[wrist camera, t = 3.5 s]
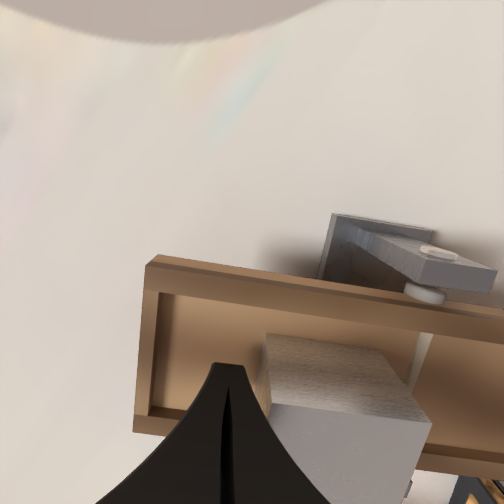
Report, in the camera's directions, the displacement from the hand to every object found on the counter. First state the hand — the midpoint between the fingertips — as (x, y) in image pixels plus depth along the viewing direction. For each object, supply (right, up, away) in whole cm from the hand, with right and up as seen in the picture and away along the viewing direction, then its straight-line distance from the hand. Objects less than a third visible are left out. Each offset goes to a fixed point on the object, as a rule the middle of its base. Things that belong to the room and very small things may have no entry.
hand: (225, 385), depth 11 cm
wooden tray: (+8, -1, +3) cm, 9 cm away
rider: (+4, -1, +2) cm, 4 cm away
